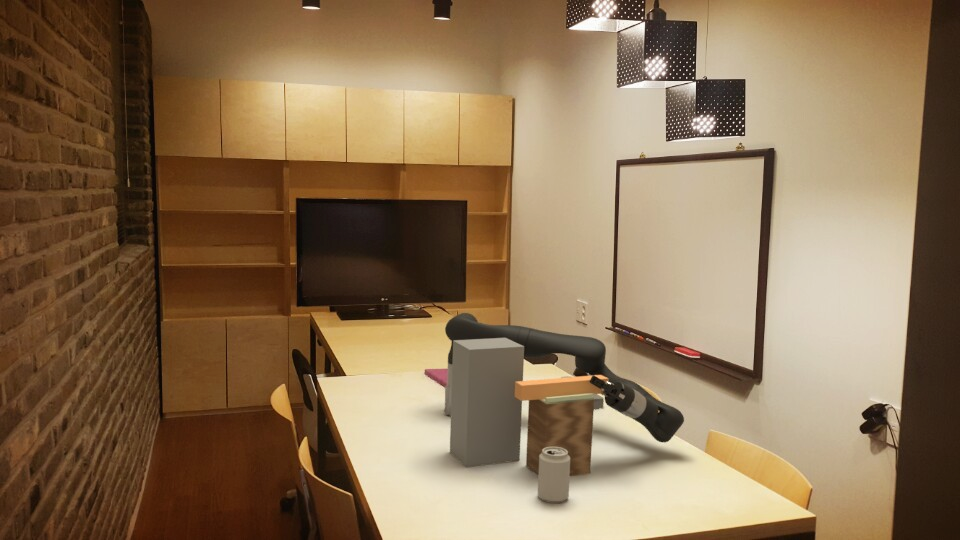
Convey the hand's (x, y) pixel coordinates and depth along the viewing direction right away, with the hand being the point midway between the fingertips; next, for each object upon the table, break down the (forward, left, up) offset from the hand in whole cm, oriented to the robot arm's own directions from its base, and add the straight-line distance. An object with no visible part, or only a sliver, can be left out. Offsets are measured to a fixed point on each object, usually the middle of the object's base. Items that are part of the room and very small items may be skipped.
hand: (583, 374), depth 197 cm
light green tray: (-10, +59, -26) cm, 65 cm away
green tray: (-5, -4, -5) cm, 8 cm away
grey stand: (-26, 0, -25) cm, 36 cm away
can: (-5, -22, -26) cm, 34 cm away
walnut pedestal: (-5, -4, -25) cm, 26 cm away
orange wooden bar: (-5, -4, -5) cm, 8 cm away
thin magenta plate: (-45, +75, -26) cm, 91 cm away
